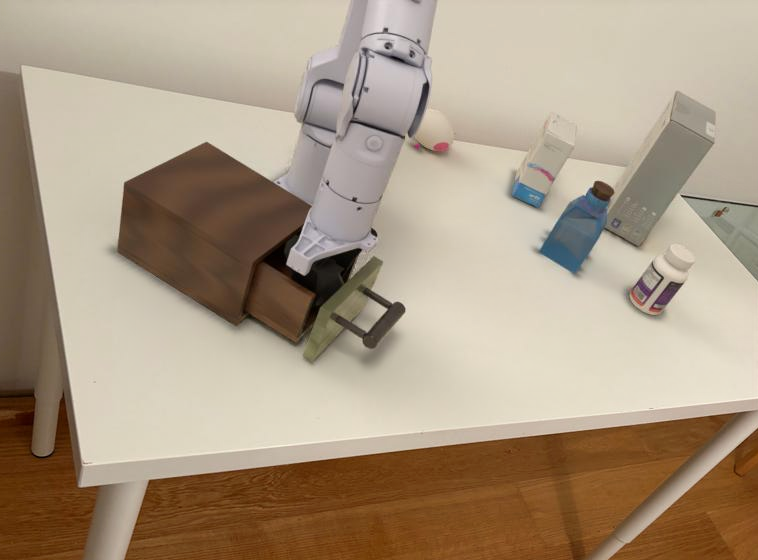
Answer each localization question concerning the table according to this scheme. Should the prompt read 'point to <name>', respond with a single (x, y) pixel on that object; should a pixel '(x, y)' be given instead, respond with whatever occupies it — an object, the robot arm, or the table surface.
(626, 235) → the hard drive box
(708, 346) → the table surface
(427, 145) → the stress ball
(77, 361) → the table surface
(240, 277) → the cabinet
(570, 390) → the table surface
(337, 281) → the tape
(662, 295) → the pill bottle
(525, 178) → the ink box
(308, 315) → the drawer
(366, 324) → the table surface
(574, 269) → the perfume bottle
